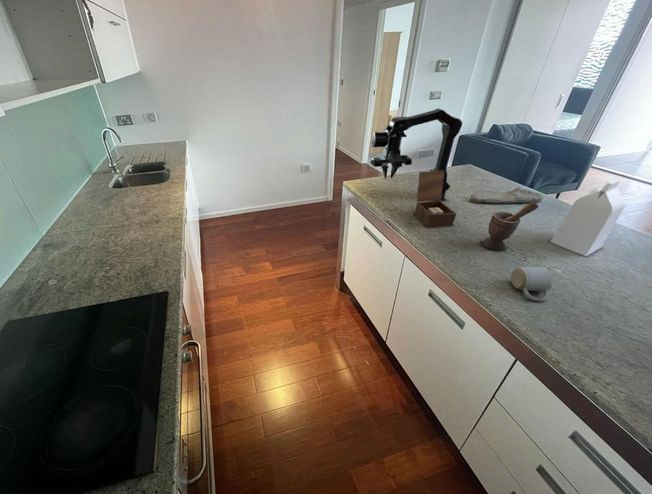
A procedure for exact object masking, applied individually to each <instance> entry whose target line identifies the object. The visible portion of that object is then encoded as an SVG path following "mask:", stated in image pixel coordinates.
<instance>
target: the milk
mask: <svg viewBox="0 0 652 494" xmlns="http://www.w3.org/2000/svg"><path fill="white" fill-rule="evenodd" d="M620 182H621V180H618V179H613V180H610V181H607V182H606V183H605V185H604V186H603V187H602V188H600V187H597V188H594V189H591V190H589V191H588V192H589V193H588V194H585V195H582V196H580V197H578V198H577V199H576V200H575V201H574V202H573V204H572V206H571V207H570V209H569V211H568V212H567V214H566V215H565V217H564V218H563V220H562V222H561V224H560V225H559V227H558V228H557V230H556V232H554V235H553V237H552V238H551V239H550V243H552V244H554V245H556V246H558V247H561V248H564V249H567V250H569V251H572V252H574V253H576V254H579V255H581V256H584V257H587V256H589V255H591V254H592V253H595V252H596V251H597V250H599V249H601V248H602V247H603V245H604V243H605V241H606V240H607V238H608V237H609V236H610V233H611V231H612V229H613V228H614V226H615V225H616V223H617V221H618V219H619V218H620V216H621V214H622V213H623V211H624V209H625V207H626V206H627V203H626V202H627V201H626V200H625V197H624V196H623V195H622V194H621V191H620V190H619V189H618V185H619V184H620Z"/></svg>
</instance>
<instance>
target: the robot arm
mask: <svg viewBox="0 0 652 494" xmlns="http://www.w3.org/2000/svg"><path fill="white" fill-rule="evenodd" d="M434 121H438V122H439V123H440V124H441V135H442V140H441V143H440V147H439V152H438V156H437V159H436V160H437V161H436V164H435V167H434V168H433V169H430V170H429V172H430V171H444V178H443V187H442V196H441V200H436V201H446V200H447V199H446V198H445V196H446V193H447V191H449V189H450V188H451V185H450V184H449V183H448V170H447V167H448V163H449V159H450V155H451V152H452V149H453V144H454V140H455V138H456V137H457V136H458V135H459V133H460V131H461V128H462V126H463V122H462V120H461V119H460V118H457V117H455V116H452V115H450V113H448V112H446V111H445V110H444V109H441V108H435V109H433V110H429V111H426V112H422V113H419V114H415V115H411V116H396V117H395V116H394V117H393V118H391V119H390V121H389V124H388V125H387V126H386V127H385V128H384V129H383V131H374V132H373V135H372V137H371V143H370V144H371V147H372V148H385V150H386V151H385V155H384V156H383V157H384V158H383V159H381V158H380V157H371V159H370V162H369V163H370V165H372V166H373V167H374V168H379V167H380V168H381V170H382V174H383V177H384V179H387V176H388V169H389V165H388V164H390V165H391V168H390V175H389V177H390V179H393V177H394V176H395V174H396V172H397V171H398V169H400V168H401V167H402V168H403V164H404V165H405V166H411V165H412V163H413V159H412V158H411V157H409V156H408V155H407V154H403V155H402V154H401V143H402V139H403V138H407V134H406V133H405V131H407V130H409V129H410V128H412V127H415V126H419V125H423V124H426V123H430V122H434Z"/></svg>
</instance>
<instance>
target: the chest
mask: <svg viewBox="0 0 652 494" xmlns="http://www.w3.org/2000/svg"><path fill="white" fill-rule="evenodd" d="M429 208H440V209H441V210H442V211H443V212H444V213H443V214H431V213H430V212H429V211H428V209H429ZM413 215H414V216H415V217H416V218H417V219H418V220H419V221H421V223H423V225H425V227H426V228H427V229H428V228H441V227H453V225H454V222H455V219H456V216H457V212H455V211H454V210H453V209H451V208H450V207H449V206H447V205H446V204H445V203H444V202H443V201H442V200H440V201H421V202H417V201H416V205H415V209H414V213H413Z"/></svg>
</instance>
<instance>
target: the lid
mask: <svg viewBox="0 0 652 494" xmlns="http://www.w3.org/2000/svg"><path fill="white" fill-rule="evenodd" d="M418 173H419V174H418V183H417V184H418V185H417V196H416V203H417V202H432V201H436V200H440V201H442V200H441V196H442V187H443V178H444V171H430V170H429V171H419V172H418Z"/></svg>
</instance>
